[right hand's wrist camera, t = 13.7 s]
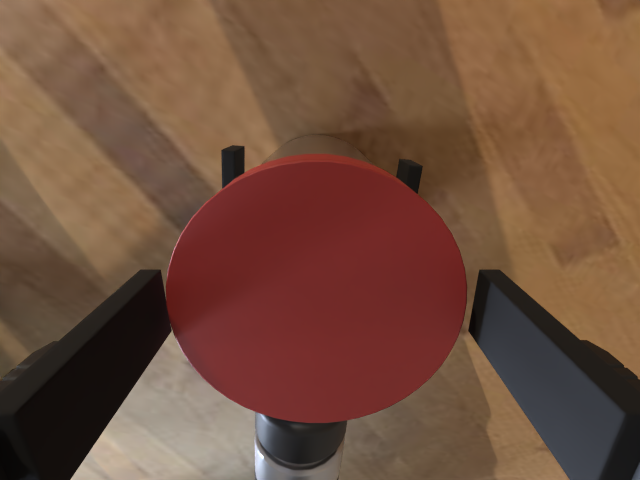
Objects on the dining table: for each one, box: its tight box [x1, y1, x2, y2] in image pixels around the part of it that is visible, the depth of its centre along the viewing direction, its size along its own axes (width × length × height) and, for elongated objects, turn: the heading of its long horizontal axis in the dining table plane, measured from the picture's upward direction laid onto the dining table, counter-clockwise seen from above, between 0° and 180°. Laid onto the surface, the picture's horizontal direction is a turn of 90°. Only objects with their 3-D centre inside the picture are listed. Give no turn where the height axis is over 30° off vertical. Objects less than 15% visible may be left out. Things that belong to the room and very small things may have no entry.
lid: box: [166, 154, 467, 423], centre depth 13 cm, size 11×11×2 cm
